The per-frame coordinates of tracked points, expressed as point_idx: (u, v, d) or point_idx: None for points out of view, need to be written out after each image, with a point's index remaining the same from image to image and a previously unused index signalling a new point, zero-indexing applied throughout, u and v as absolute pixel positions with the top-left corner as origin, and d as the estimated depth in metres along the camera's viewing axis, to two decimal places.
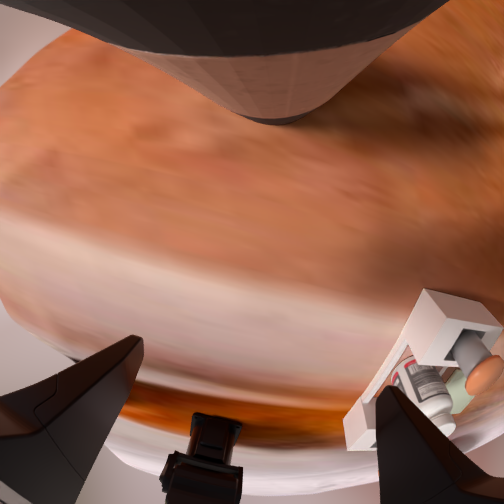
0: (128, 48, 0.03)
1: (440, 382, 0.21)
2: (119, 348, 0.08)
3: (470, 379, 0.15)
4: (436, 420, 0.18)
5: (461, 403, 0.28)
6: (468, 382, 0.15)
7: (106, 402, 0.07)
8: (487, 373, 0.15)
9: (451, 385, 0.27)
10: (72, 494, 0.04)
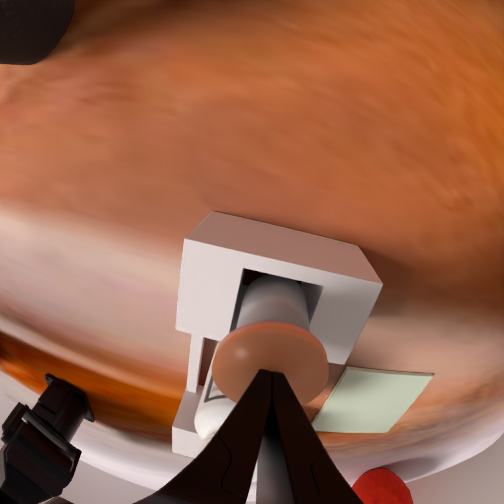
0: None
1: None
2: (259, 387, 0.08)
3: None
4: None
5: (381, 419, 0.22)
6: None
7: None
8: (261, 364, 0.09)
9: (346, 391, 0.21)
10: None
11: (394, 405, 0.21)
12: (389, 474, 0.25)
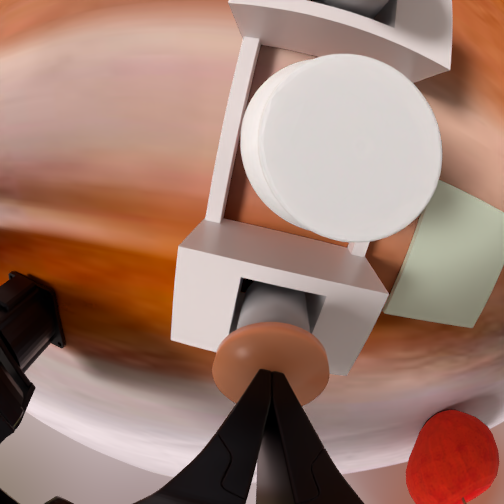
0: None
1: None
2: (259, 387, 0.08)
3: None
4: None
5: (470, 296, 0.16)
6: None
7: None
8: None
9: (435, 223, 0.14)
10: None
11: (485, 267, 0.15)
12: (463, 413, 0.18)
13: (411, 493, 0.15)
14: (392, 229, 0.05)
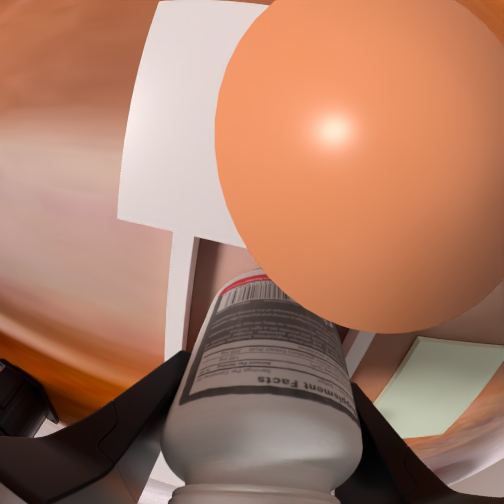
0: None
1: (305, 347, 0.07)
2: (172, 366, 0.08)
3: None
4: None
5: (442, 416, 0.14)
6: None
7: (163, 423, 0.07)
8: (402, 82, 0.02)
9: (411, 377, 0.13)
10: None
11: (462, 395, 0.13)
12: None
13: None
14: None
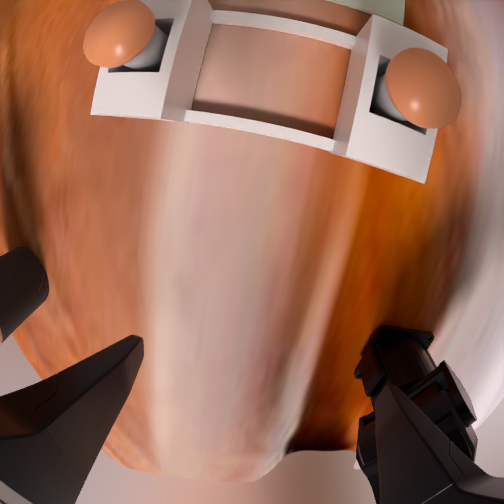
0: None
1: None
2: (119, 348, 0.08)
3: (110, 66, 0.10)
4: None
5: None
6: (116, 64, 0.10)
7: (106, 402, 0.07)
8: (103, 39, 0.10)
9: None
10: (72, 494, 0.04)
11: None
12: None
13: None
14: None
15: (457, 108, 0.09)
